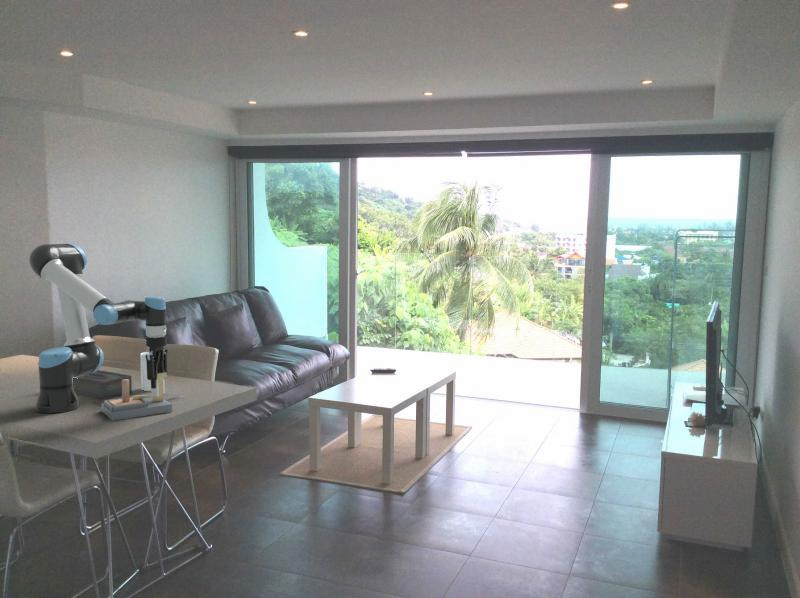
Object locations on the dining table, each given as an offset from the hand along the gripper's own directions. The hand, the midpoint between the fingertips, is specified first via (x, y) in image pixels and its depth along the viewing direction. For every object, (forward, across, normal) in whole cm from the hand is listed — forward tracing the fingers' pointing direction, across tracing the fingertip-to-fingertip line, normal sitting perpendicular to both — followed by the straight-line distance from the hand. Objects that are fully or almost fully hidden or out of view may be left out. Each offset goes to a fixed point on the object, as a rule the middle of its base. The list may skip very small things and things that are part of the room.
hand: (157, 394), depth 266 cm
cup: (+6, +30, +19) cm, 36 cm away
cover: (+3, -8, +9) cm, 12 cm away
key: (+2, -1, +3) cm, 4 cm away
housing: (+6, -6, +6) cm, 10 cm away
